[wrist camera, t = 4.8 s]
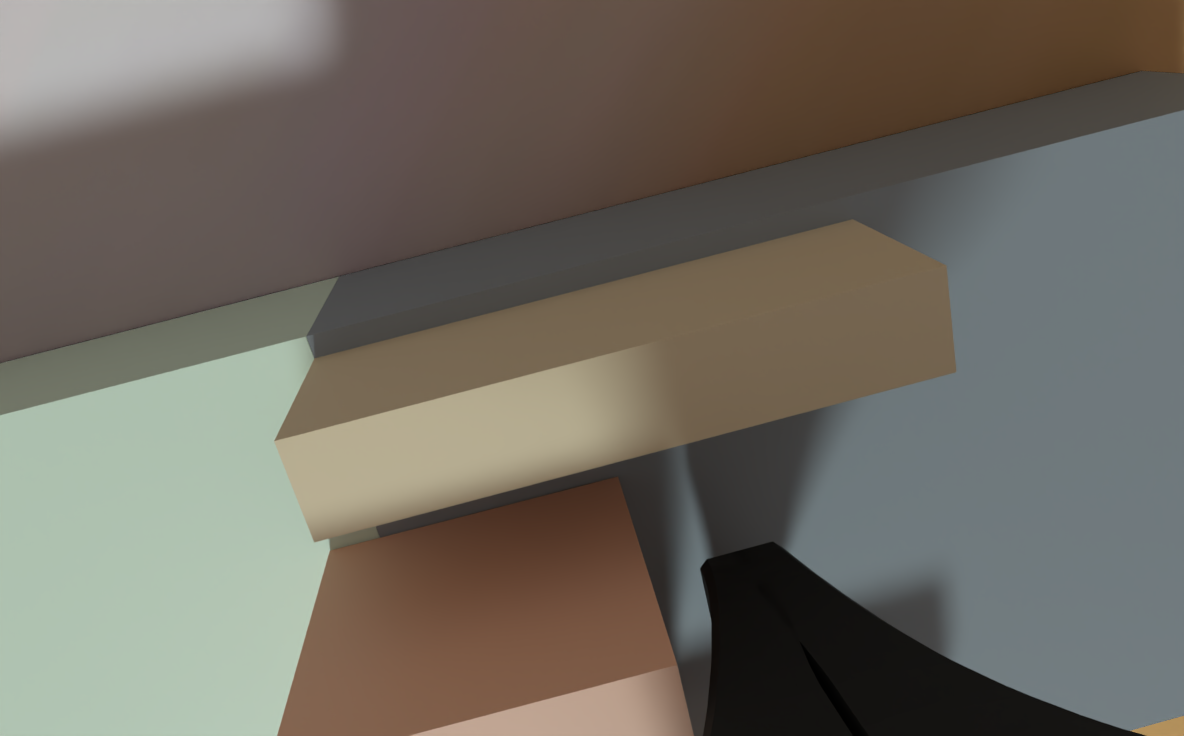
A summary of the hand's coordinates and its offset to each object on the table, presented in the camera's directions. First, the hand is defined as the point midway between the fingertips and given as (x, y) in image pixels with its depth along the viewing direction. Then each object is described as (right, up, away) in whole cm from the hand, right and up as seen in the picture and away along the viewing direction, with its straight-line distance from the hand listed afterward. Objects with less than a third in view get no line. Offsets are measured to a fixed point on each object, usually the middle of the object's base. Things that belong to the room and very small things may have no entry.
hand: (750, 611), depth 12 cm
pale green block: (-8, -1, +3) cm, 9 cm away
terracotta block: (-3, -1, +1) cm, 3 cm away
